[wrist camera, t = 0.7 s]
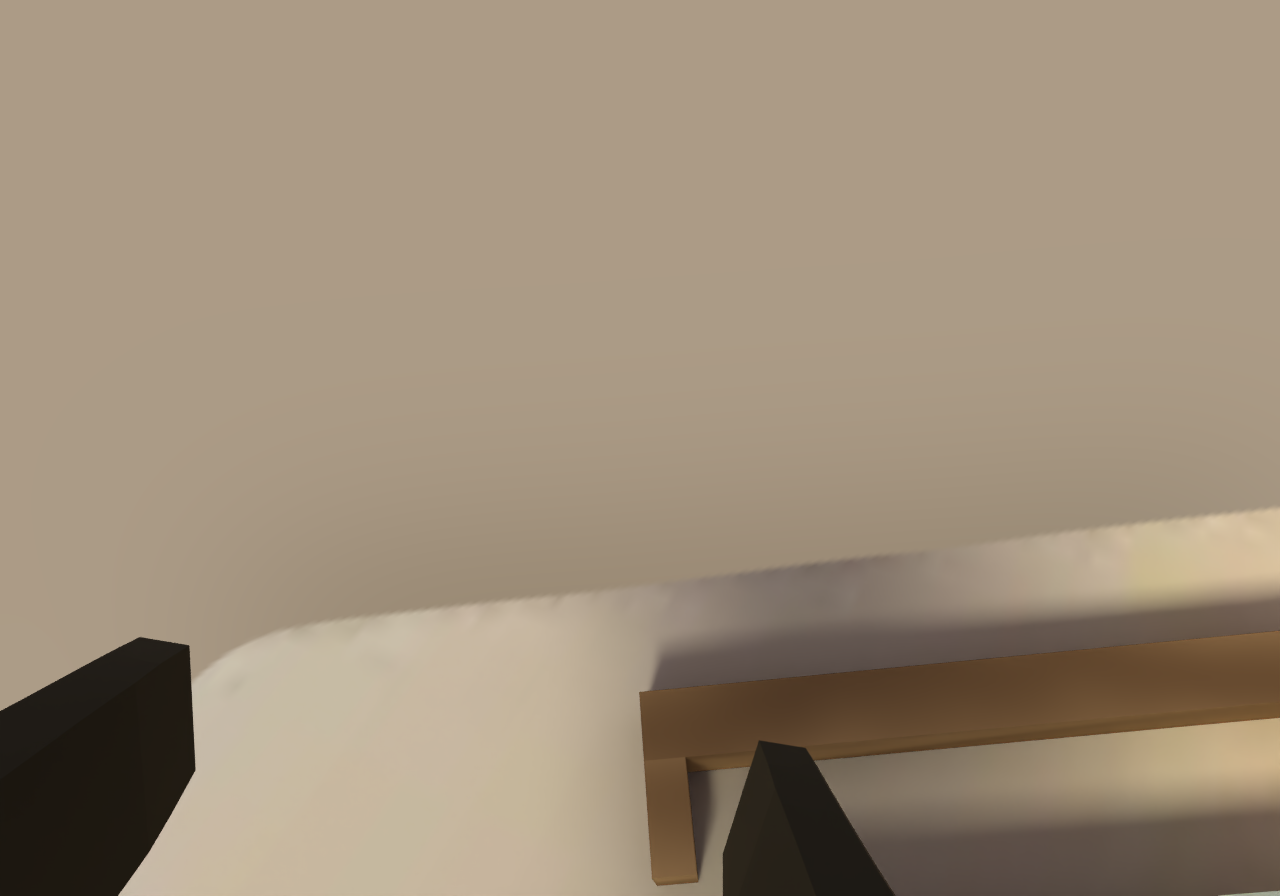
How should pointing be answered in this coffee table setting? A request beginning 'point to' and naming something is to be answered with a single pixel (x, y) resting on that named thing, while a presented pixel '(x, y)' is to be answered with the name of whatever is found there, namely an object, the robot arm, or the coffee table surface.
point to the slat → (1257, 894)
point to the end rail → (941, 713)
